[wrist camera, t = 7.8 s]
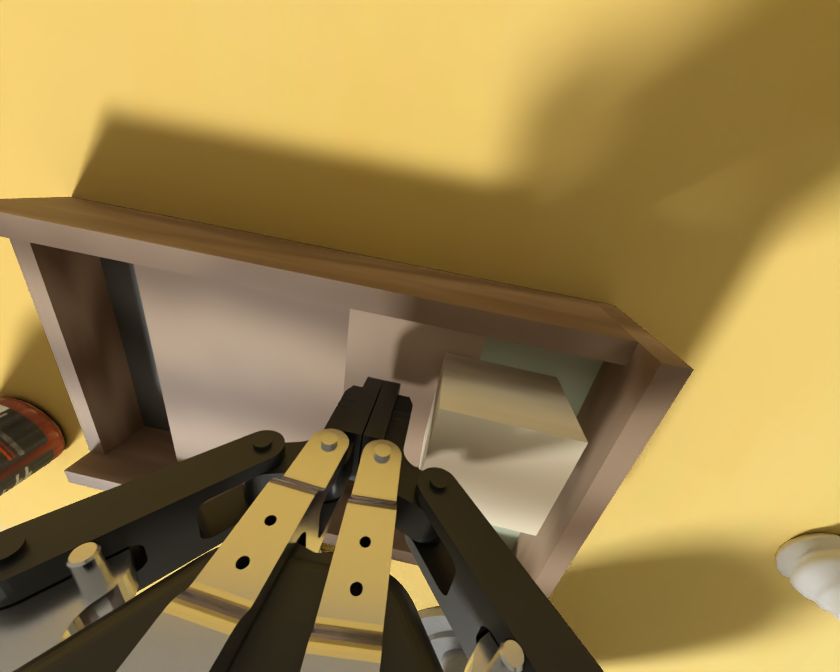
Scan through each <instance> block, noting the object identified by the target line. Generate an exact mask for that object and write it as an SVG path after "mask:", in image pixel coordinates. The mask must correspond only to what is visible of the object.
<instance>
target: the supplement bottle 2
mask: <svg viewBox="0 0 840 672" xmlns="http://www.w3.org/2000/svg"><path fill="white" fill-rule="evenodd" d="M64 445H65V443H64V438H63V435H62V432H61V430H60V428H59V427H58V425H57V424H56V423H55V422H54V421H53V420H52V419H51V418H50V417H49V416H48V415H46V414H45V413H44V412H43V411H41V410H40V409H38V408H36V407H34V406H33V405H31V404H29V403H27V402H25V401H22V400H19V399H14V398H5V397H2V398H0V496H1V495H2V494H3V493H5V492H7V491H8V490H9V489H11V488H13V487H14V486H16V485H17V484H19V483H20V482H22V481H23V480H25V479H26V478H28V477H29V476H30V475H32V474H33V473H35V472H36V471H38V470H39V469H41V468H42V467H44V466H46V465H47V464H48V463H50V462H51V461H52V460H53V459H55V458H56V457H58V456H59V455H60V454H61V453H62V451H63V450H64Z"/></svg>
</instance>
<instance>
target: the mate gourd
mask: <svg viewBox="0 0 840 672" xmlns="http://www.w3.org/2000/svg"><path fill="white" fill-rule="evenodd" d="M417 612H418V614H419V616H420V619H421V621H422V623H423V625H424V628H425V630H426V632H427V635H428V637H429V639H430V641H431V644H432V646H433V648H434V650H435V653H436V655H437V657H438V660H439V662H440V664H441V666H442V669H443V671H444V672H464V670H465V667H466V665H467V662H468V661H469V660H468V658H467V656H466V655H465V653H464V651H463V649H462V647H461V645H460V643H459V641H458V639H457V638H456V636H455V634H454V632H453V630H452V628H451V626H450V624H449V622H448V620H447V619H446V617H445V615H444V613H443V611H442V609H441V607H435V608H428V609H424V610H421V611H417Z"/></svg>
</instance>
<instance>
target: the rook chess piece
mask: <svg viewBox="0 0 840 672" xmlns="http://www.w3.org/2000/svg"><path fill="white" fill-rule="evenodd" d="M776 564H777V570H778V571H779V572H780V573H781V574H782V575H783V576H784V577H787V578H790V582H791V585H792V586H793V587H794V588H795V589H796V590H797V591H798V592H799V593H801V594H802V595H803V596H804V597H805V598H807V599H810V600H812V601H814V602H816V603H817V605H818V606H820V607H821V608H822V609H823V610H826V611H828V612H830V613H831V614H832V615H834V616H835V617H836V618H837V619H838V620H840V536H838V535H835V534H832V533H812V534H805V535H801V536H798V537H796V538H793V539H790V540H788V541H787V542H786V543H784V544H783V545H781V546H780V547H779V549H778V551H777V552H776Z"/></svg>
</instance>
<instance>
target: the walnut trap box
mask: <svg viewBox="0 0 840 672" xmlns="http://www.w3.org/2000/svg"><path fill="white" fill-rule="evenodd" d="M0 236H2V237H6V238H9V239H10V241H11V244H12V247H13V249H14V252H15V255H16V257H17V260H18V263H19V265H20V268H21V270H22V273H23V276H24V278H25V281H26V284H27V286H28V289H29V292H30V294H31V297H32V299H33V302H34V305H35V307H36V310H37V313H38V315H39V318H40V320H41V323H42V326H43V328H44V331H45V334H46V336H47V339H48V342H49V344H50V347H51V349H52V352H53V355H54V357H55V360H56V363H57V365H58V368H59V371H60V373H61V376H62V378H63V381H64V384H65V386H66V389H67V392H68V394H69V397H70V400H71V402H72V405H73V407H74V410H75V413H76V415H77V418H78V421H79V423H80V426H81V429H82V431H83V434H84V436H85V439H86V442H87V444H88V447H89V450H90V452H89V453H88V454H87V455H85V456H84V457H82V458H81V459H80V460H78V461H77V462H75V463H74V464H73V465H71V466H70V467H68V468H67V469H66V470H64V472H65V474H66V476H67V478H68V481H69V482H70V483H75V484H79V485H83V486H87V487H91V488H95V489H100V490H104V491H106V490H109V489H111V488H114V487H116V486H119V485H121V484H124V483H127V482H129V481H132V480H134V479H137V478H139V477H142V476H145V475H147V474H150V473H152V472H155V471H157V470H160V469H162V468H165V467H168V466H170V465H173V464H175V463H178V462H180V461H183V460H185V459H188V458H191V457H193V456H196V455H198V454H201V453H203V452H206V451H208V450H211V449H214V448H216V447H219V446H221V445H224V444H226V443H229V442H231V441H234V440H237V439H239V438H242V437H244V436H247V435H249V434H252V433H255V432H258V431H262V430H272V431H276V432H278V433H280V434H281V435H282V436H283V437H284V439H285V442H302V441H307V440H309V439H310V438H311V437H312V435H313V434H315V433H316V432H318V431H320V430H323V429H324V428H325V426H326V424H327V422H328V421H329V419H330V417H331V415H332V414H333V412H334V410H335V408H336V407H337V405H338V403H339V401H340V400H341V398H342V396H343V394H344V392H345V391H346V390H347V389H349V388H350V387H352V386H353V385H355V386H360V387H363V385H364V383H365V381H366V379H367V377H372V378H377V379H381V380H384V381H385V380H386V381H391V382H396V383H401V386H400V392H399V395H402V396H407V397H410V399H411V402H412V404H413V407H412V412H411V417H410V422H409V427H408V431H407V436H406V441H405V445H404V455H405V457H406V459H407V460H408V461H409V462H410V463H411V464H412V465H413V466H415V467H416V468H418V469H419V465H420V459H421V452H422V446H423V440H424V435H425V431H426V427H427V423H428V419H429V415H430V411H431V407H432V403H433V399H434V395H435V391H436V387H437V384H438V380H439V376H440V372H441V368H442V364H443V360H444V356H445V352H447V353H451V354H456V355H460V356H465V357H469V358H474V359H478V360H482V361H487V362H491V363H496V364H500V365H505V366H509V367H513V368H518V369H522V370H527V371H531V372H535V373H540V374H544V375H549V376H553V377H557V378H558V381H559V383H560V385H561V387H562V389H563V391H564V393H565V395H566V397H567V399H568V402H569V404H570V406H571V408H572V410H573V412H574V414H575V416H576V418H577V421H578V423H579V425H580V427H581V429H582V431H583V433H584V435H585V437H586V439H587V442H588V444H587V446H586V448H585V449H584V451H583V453H582V455H581V457H580V458H579V460H578V462H577V464H576V465H575V467H574V469H573V471H572V473H571V474H570V476H569V478H568V480H567V482H566V483H565V485H564V487H563V489H562V491H561V492H560V494H559V496H558V498H557V499H556V501H555V503H554V505H553V507H552V508H551V510H550V512H549V514H548V516H547V517H546V519H545V521H544V523H543V524H542V526H541V528H540V530H539V532H538V533H537V535H536V536H534V535H530V534H526V533H522V532H518V531H514V530H510V529H506V528H501V527H497V526H493V525H492V527H493V528H494V529H495V531H496V532H497V533H498V535H499V536H500V537H501V538H502V540H503V541H504V542H505V544H506V545H507V546H508V548H509V549H510V550H511V551H512V553H513V554H514V555H515V557H516V558H517V559H518V561H519V562H520V563H521V564H522V566H523V567H524V568H525V570H526V571H527V572H528V574H529V575H530V576H531V577H532V579H533V580H534V581H535V583H536V584H537V585H538V587H539V588H540V589H541V590H542V592H543V593H544V594H545V596H546V597H547V598H549V596H550V595H551V593H552V592H553V590H554V589H555V587H556V585H557V584H558V582H559V581H560V579H561V578H562V576H563V574H564V573H565V571H566V570H567V568H568V567H569V565H570V563H571V562H572V560H573V559H574V557H575V555H576V554H577V552H578V551H579V549H580V548H581V546H582V544H583V543H584V541H585V540H586V538H587V537H588V535H589V533H590V532H591V530H592V529H593V527H594V526H595V524H596V522H597V521H598V519H599V518H600V516H601V515H602V513H603V511H604V510H605V508H606V507H607V505H608V504H609V502H610V500H611V499H612V497H613V496H614V494H615V493H616V491H617V489H618V488H619V486H620V485H621V483H622V482H623V480H624V478H625V477H626V475H627V474H628V472H629V471H630V469H631V467H632V466H633V464H634V463H635V461H636V460H637V458H638V456H639V455H640V453H641V452H642V450H643V449H644V447H645V445H646V444H647V442H648V441H649V439H650V437H651V436H652V434H653V433H654V431H655V430H656V428H657V426H658V425H659V423H660V422H661V420H662V419H663V417H664V415H665V414H666V412H667V411H668V409H669V408H670V406H671V404H672V403H673V401H674V400H675V398H676V397H677V395H678V393H679V392H680V390H681V389H682V387H683V386H684V384H685V382H686V381H687V379H688V378H689V376H690V375H691V373H692V371H693V370H694V369H692V368H691V367H690V366H689V365H688V364H686V363H685V362H684V361H683V360H681V359H680V358H679V357H678V356H676V355H675V354H674V353H673V352H671V351H670V350H669V349H668V348H667V347H665V346H664V345H663V344H662V343H660V342H659V341H658V340H657V339H655V338H654V337H653V336H652V335H650V334H649V333H648V332H647V331H645V330H644V329H643V328H642V327H641V326H639V325H638V324H637V323H636V322H634V321H633V320H632V319H631V318H629V317H628V316H627V315H626V314H624V313H623V312H622V311H621V310H620V309H618V308H617V307H616V306H614V305H609V304H604V303H599V302H594V301H589V300H584V299H579V298H574V297H569V296H564V295H559V294H554V293H549V292H544V291H539V290H534V289H529V288H524V287H519V286H514V285H509V284H504V283H499V282H494V281H489V280H484V279H479V278H474V277H469V276H464V275H459V274H454V273H449V272H444V271H439V270H434V269H429V268H424V267H419V266H414V265H409V264H404V263H399V262H394V261H389V260H384V259H379V258H374V257H369V256H364V255H359V254H354V253H349V252H344V251H339V250H334V249H329V248H324V247H319V246H314V245H309V244H304V243H299V242H294V241H289V240H284V239H279V238H274V237H269V236H264V235H259V234H254V233H249V232H244V231H239V230H234V229H229V228H224V227H219V226H214V225H209V224H204V223H199V222H194V221H189V220H184V219H179V218H174V217H169V216H164V215H159V214H154V213H149V212H144V211H139V210H134V209H129V208H123V207H118V206H113V205H108V204H103V203H98V202H93V201H88V200H83V199H78V198H73V197H51V198H18V199H0ZM354 483H355V481H352V480H349V481H348V484H347V486H346V489H345V491H344V495H343V499H342V501H341V503H340V506H339V508H338V510H337V512H336V514H335V516H334V518H333V520H332V523H331V525H330V527H329V529H328V531H327V533H326V535H325V537H324V540H323V542H322V543H326V544H330V545H334V546H336V543H337V539H338V535H339V532H340V528H341V524H342V520H343V517H344V513H345V509H346V506H347V502H348V499H349V497H351V494H352V490H353V487H354ZM241 485H243V483H242V484H240V485H238V486H241ZM238 486H236V487H238ZM236 487H234V488H236ZM234 488H232V489H234ZM232 489H229V490H227V491H225V492H223V493H221V494H219V495H217V496H215V497H213V498H211V499H209V500H207V501H205V502H204V503H206V502H208V501H210V500H212V499H214V498H216V497H218V496H220V495H222V494H224V493H226V492H228V491H230V490H232ZM391 559H393V560H397V561H401V562H405V563H410V564H414V565H418V564H417V562H416V560H415V558H414V556H413V554H412V552H411V550H410V549H409V547H408V545H407V543H406V540H405V534H403V533H402V532H400V531H399V530H397V529H394V538H393V547H392V556H391Z"/></svg>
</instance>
